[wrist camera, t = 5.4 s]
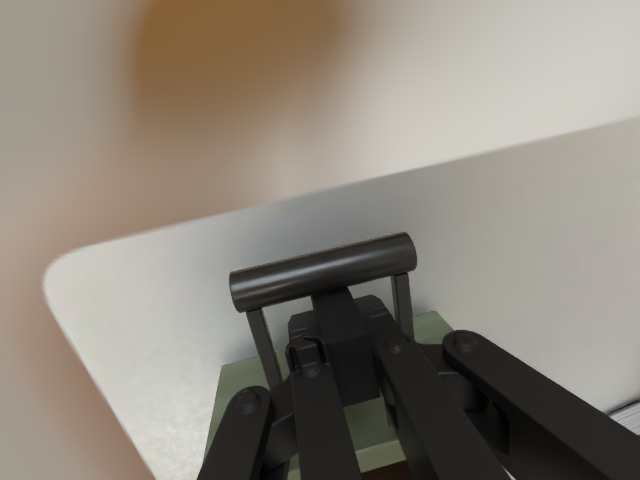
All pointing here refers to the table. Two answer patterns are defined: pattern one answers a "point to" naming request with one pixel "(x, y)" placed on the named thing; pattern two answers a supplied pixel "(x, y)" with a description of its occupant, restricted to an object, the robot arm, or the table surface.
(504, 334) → the table surface
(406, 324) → the drawer
